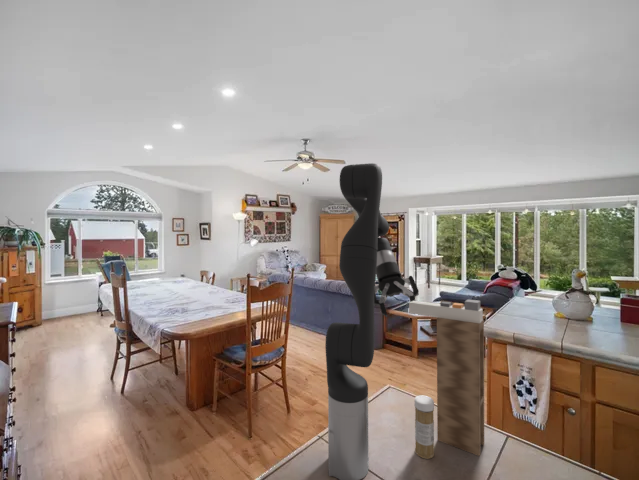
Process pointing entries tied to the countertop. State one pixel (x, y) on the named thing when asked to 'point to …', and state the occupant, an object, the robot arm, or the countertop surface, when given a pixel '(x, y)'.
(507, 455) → the countertop surface
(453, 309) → the power strip
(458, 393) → the tall wooden block
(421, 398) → the sprinkles bottle
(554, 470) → the countertop surface
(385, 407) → the countertop surface
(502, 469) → the countertop surface
